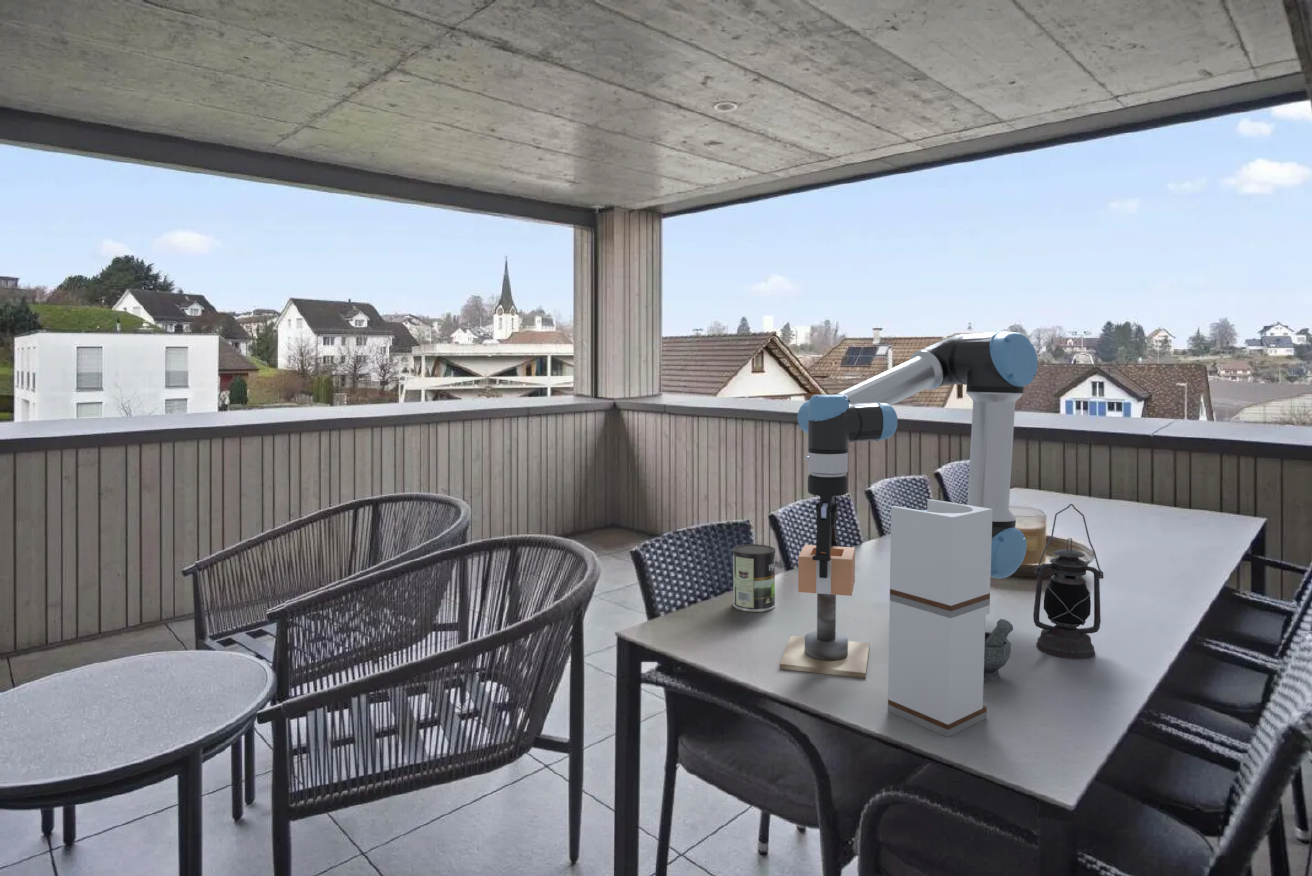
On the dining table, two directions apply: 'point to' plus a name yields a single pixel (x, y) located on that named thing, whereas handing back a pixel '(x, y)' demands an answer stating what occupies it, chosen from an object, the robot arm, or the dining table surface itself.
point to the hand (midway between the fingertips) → (826, 585)
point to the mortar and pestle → (996, 650)
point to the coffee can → (754, 577)
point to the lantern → (1067, 603)
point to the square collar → (840, 570)
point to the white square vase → (939, 614)
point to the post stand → (826, 647)
